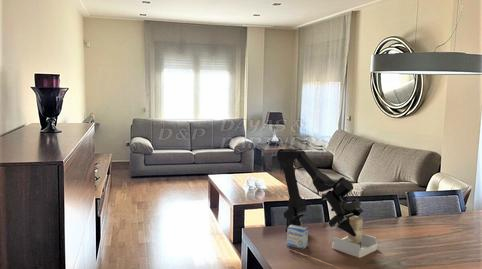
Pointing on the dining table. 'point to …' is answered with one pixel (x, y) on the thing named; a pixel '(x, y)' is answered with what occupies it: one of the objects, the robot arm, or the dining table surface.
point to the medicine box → (297, 236)
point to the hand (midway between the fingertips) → (357, 234)
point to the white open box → (355, 246)
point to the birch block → (356, 230)
